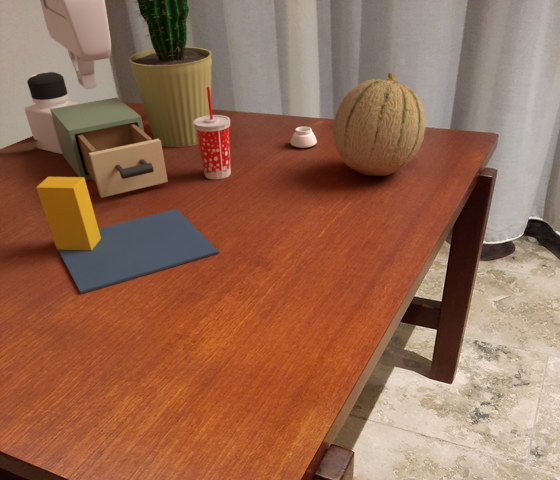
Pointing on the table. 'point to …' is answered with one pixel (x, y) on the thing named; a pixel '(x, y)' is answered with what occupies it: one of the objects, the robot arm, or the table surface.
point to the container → (46, 108)
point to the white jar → (303, 137)
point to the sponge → (69, 212)
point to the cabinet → (89, 125)
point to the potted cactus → (171, 74)
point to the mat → (137, 250)
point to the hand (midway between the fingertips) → (88, 86)
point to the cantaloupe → (379, 127)
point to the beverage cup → (214, 143)
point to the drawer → (122, 159)
